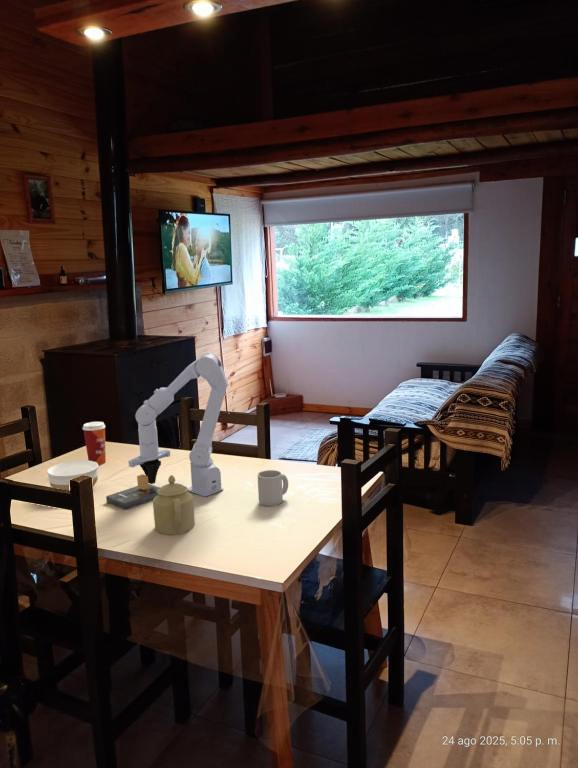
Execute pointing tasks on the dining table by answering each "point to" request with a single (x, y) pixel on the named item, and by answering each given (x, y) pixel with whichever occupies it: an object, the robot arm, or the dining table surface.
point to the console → (132, 497)
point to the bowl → (71, 472)
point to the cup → (271, 487)
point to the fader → (142, 482)
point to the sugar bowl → (173, 509)
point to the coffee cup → (95, 441)
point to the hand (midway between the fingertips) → (151, 483)
